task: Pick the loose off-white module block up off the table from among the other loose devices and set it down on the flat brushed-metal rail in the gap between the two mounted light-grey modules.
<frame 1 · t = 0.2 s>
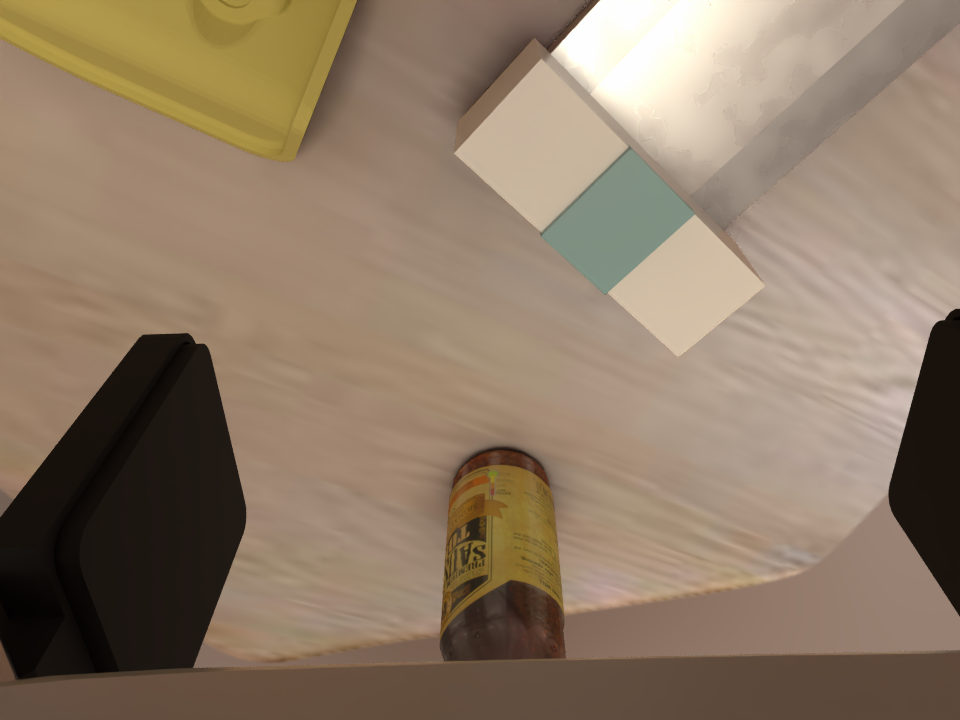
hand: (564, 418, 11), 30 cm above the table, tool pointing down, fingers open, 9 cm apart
sauce bottle: (500, 485, 50), on the table
mounted module B: (598, 175, 40), resting on rail
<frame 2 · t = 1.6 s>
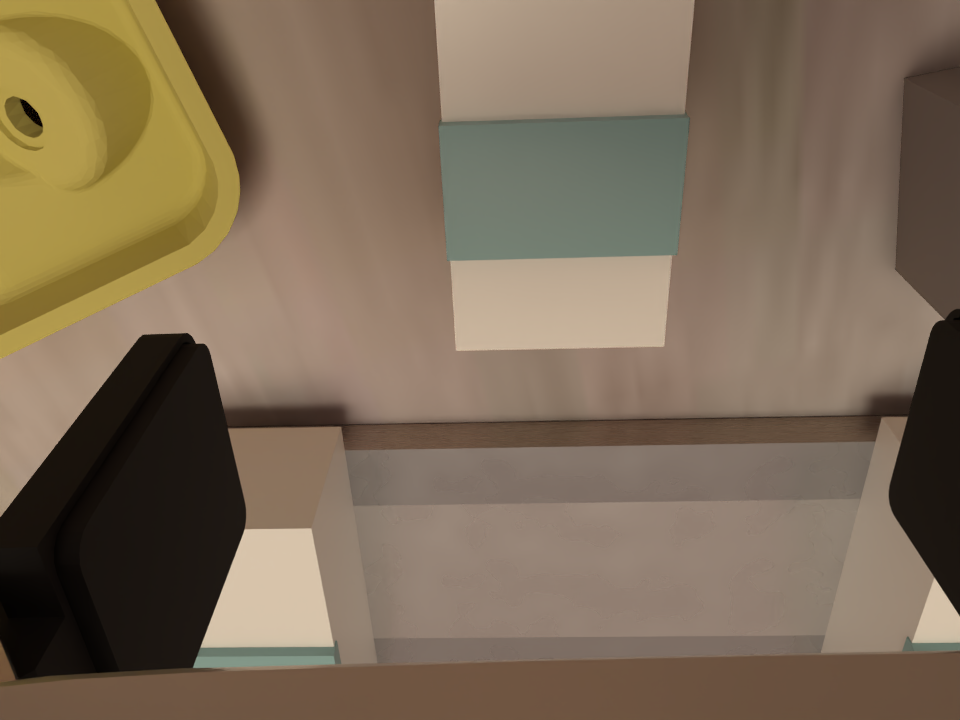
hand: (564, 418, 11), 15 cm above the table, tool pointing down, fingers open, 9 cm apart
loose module: (546, 108, 24), on the table
mounted module A: (893, 542, 32), resting on rail
rail: (596, 545, 32), on the table
mounted module B: (307, 548, 33), resting on rail
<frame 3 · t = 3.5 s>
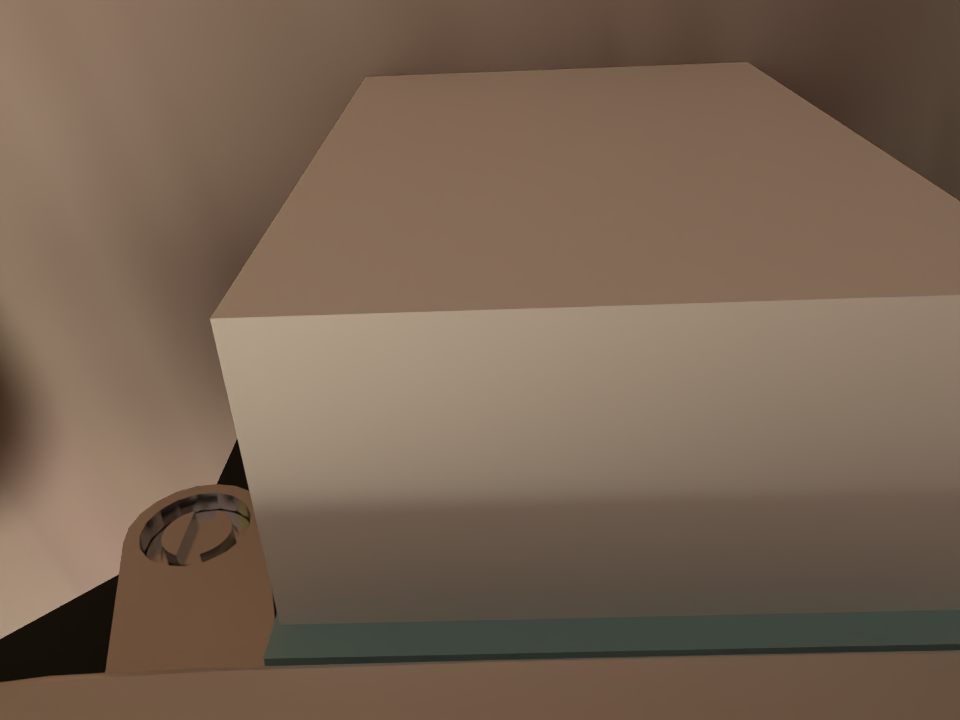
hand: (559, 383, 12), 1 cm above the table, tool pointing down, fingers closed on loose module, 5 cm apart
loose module: (553, 337, 13), on the table, touching gripper
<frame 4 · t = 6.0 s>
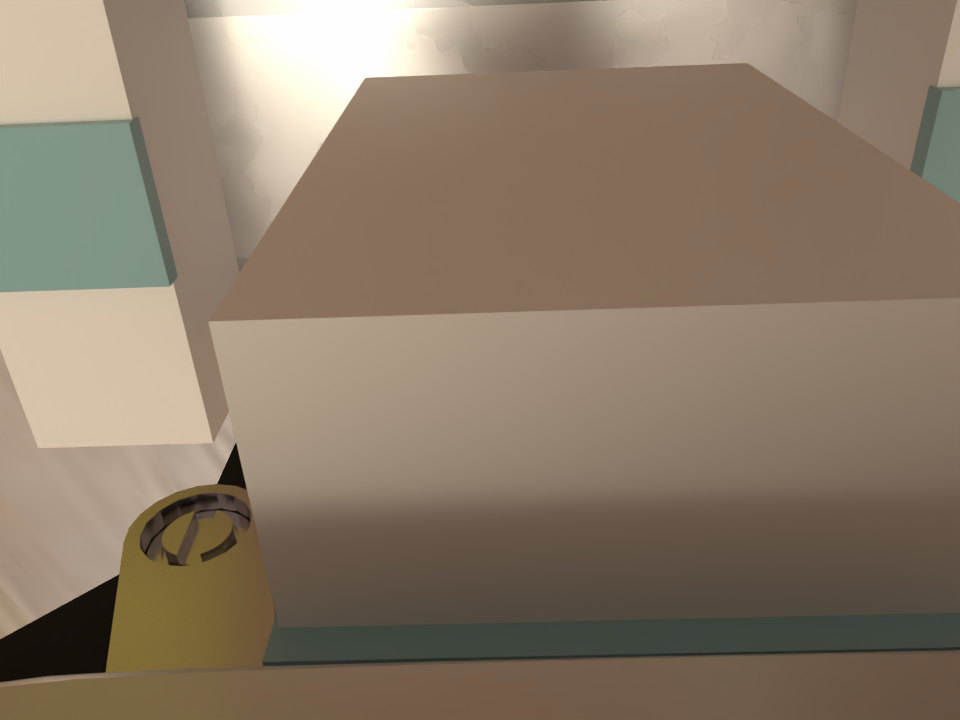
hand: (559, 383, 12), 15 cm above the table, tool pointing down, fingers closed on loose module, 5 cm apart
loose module: (553, 338, 13), point 14 cm above the table, touching gripper
mounted module A: (901, 107, 25), resting on rail
rail: (520, 122, 25), on the table
mounted module B: (147, 136, 25), resting on rail
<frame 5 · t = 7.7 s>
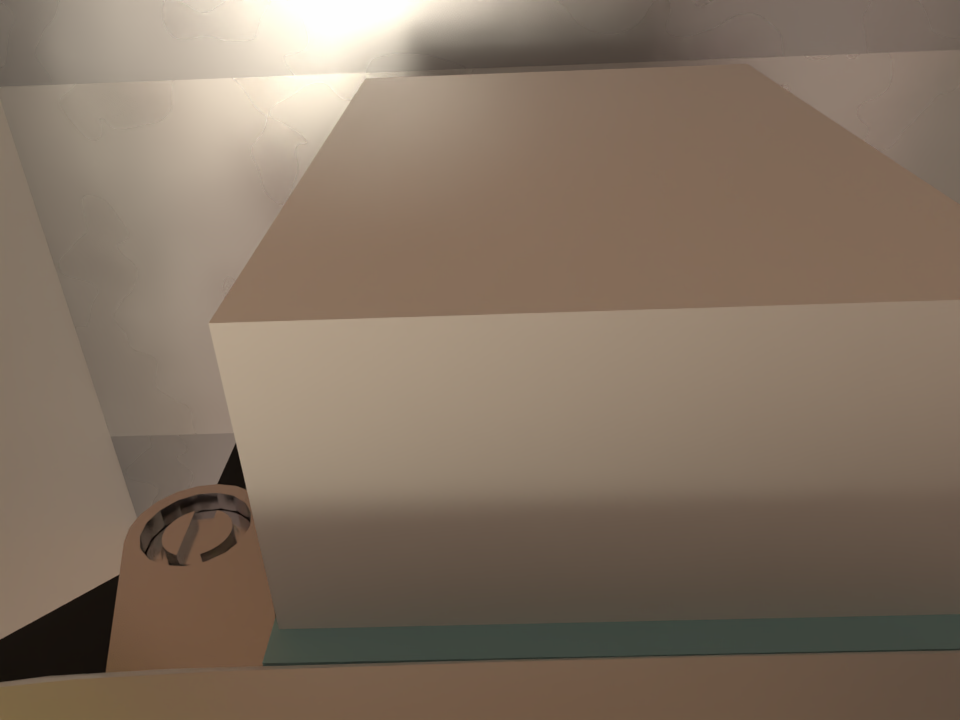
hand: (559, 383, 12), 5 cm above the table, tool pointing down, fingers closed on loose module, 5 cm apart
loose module: (553, 339, 13), point 4 cm above the table, touching gripper
rail: (542, 235, 16), on the table
when the fingers open (4 cm above the table, at t = 8.9 s): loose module stays where it is, resting on rail.
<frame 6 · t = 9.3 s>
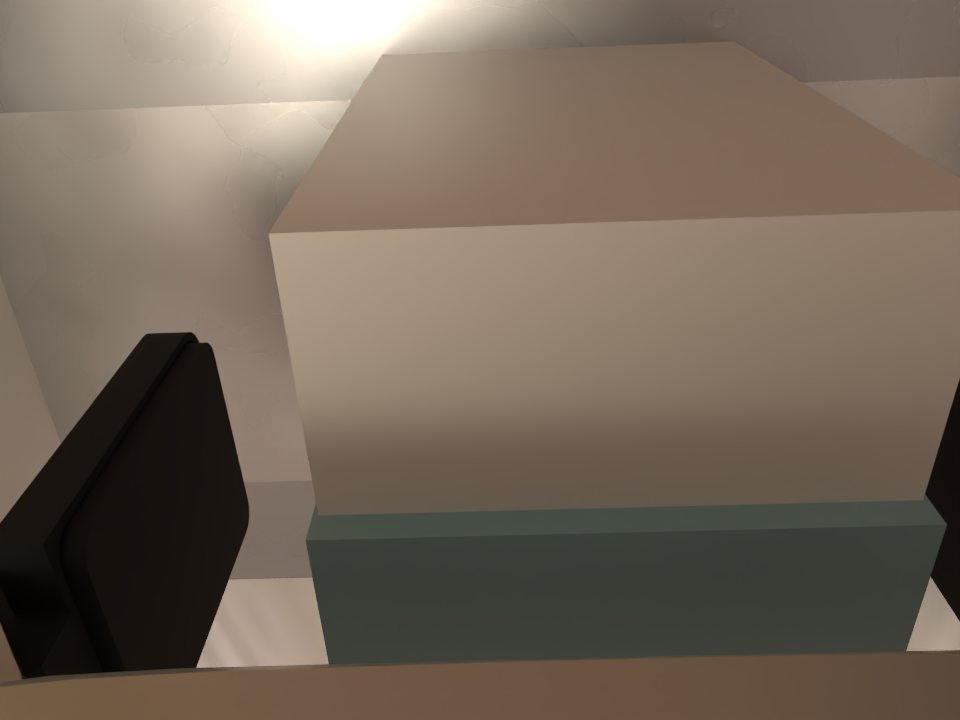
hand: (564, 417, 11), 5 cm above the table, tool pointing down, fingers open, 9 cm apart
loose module: (554, 301, 14), point 1 cm above the table, touching rail
rail: (542, 271, 15), on the table
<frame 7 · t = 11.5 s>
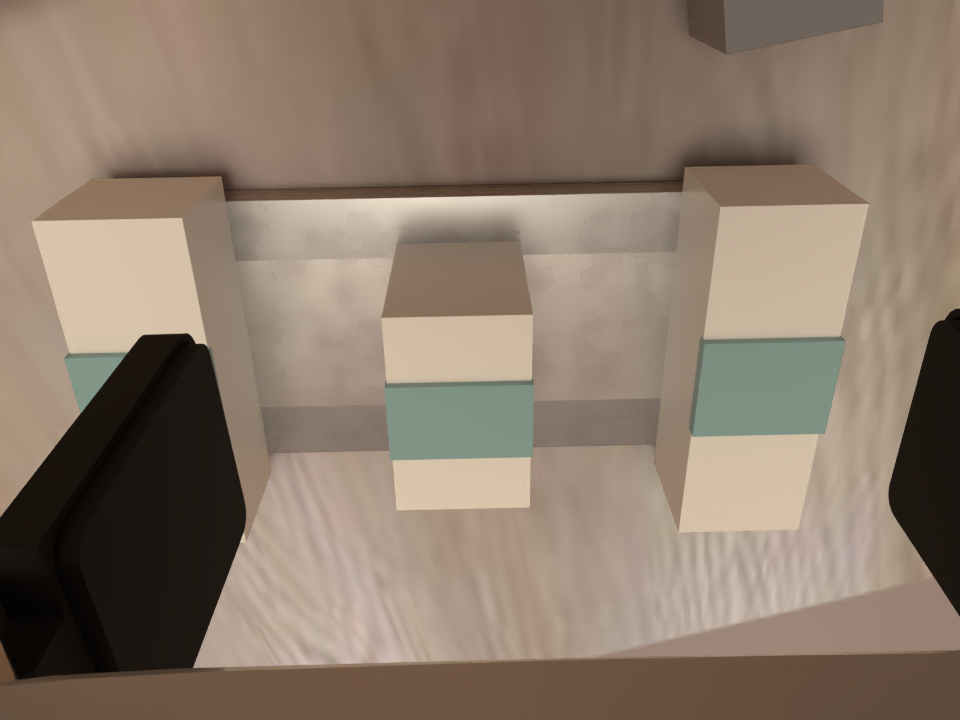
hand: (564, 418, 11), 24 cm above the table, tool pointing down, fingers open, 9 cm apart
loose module: (461, 330, 35), point 1 cm above the table, touching rail
mounted module A: (716, 312, 36), resting on rail
rail: (458, 318, 36), on the table
mounted module B: (200, 323, 36), resting on rail
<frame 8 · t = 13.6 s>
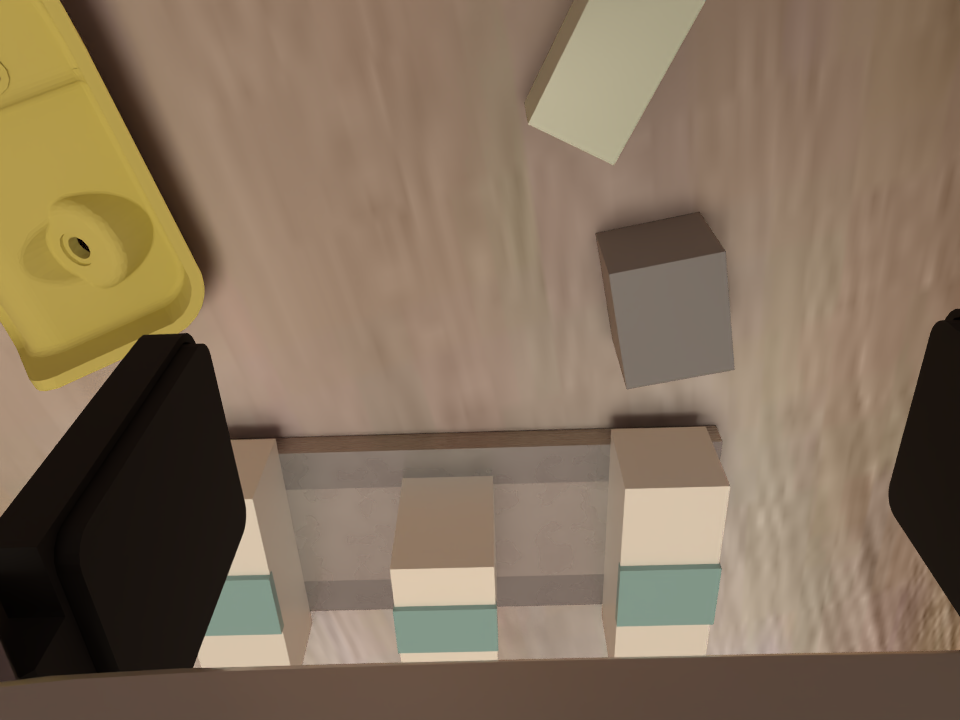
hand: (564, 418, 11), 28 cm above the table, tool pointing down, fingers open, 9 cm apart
plastic component: (42, 136, 38), on the table
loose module: (451, 531, 47), point 1 cm above the table, touching rail
mounted module A: (645, 511, 48), resting on rail
rail: (450, 516, 48), on the table
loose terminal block: (601, 47, 35), on the table
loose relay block: (653, 277, 41), on the table
mounted module B: (258, 521, 49), resting on rail
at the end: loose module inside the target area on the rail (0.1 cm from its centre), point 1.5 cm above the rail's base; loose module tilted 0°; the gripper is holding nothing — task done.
